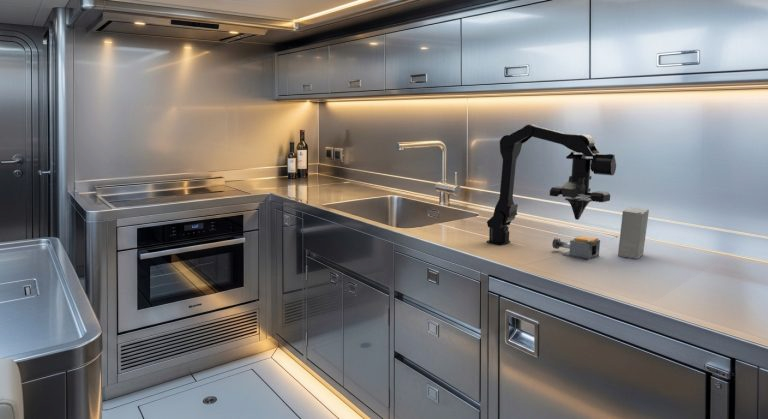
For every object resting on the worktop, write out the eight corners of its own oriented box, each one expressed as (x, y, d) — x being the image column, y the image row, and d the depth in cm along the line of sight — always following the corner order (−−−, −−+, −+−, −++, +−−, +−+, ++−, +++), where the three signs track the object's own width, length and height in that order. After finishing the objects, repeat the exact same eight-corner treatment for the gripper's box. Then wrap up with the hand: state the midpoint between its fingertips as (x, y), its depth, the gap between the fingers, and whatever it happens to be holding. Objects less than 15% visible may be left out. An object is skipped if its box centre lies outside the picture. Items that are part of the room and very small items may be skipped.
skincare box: (623, 251, 185) (627, 206, 182) (646, 254, 180) (650, 208, 177) (616, 256, 178) (620, 209, 175) (639, 259, 174) (643, 212, 171)
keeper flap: (574, 240, 178) (574, 238, 178) (580, 238, 181) (580, 236, 181) (591, 242, 174) (591, 240, 174) (597, 240, 177) (597, 238, 177)
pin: (552, 249, 185) (552, 238, 184) (557, 247, 187) (557, 237, 187) (583, 255, 177) (584, 244, 176) (588, 253, 179) (589, 242, 179)
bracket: (562, 255, 180) (563, 236, 179) (573, 250, 185) (574, 233, 184) (588, 260, 174) (589, 241, 173) (599, 255, 179) (600, 237, 178)
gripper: (542, 172, 177) (539, 218, 180) (597, 177, 164) (593, 227, 167) (559, 170, 185) (556, 214, 188) (612, 175, 171) (608, 222, 174)
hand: (577, 219), depth 179 cm, fingers closed
